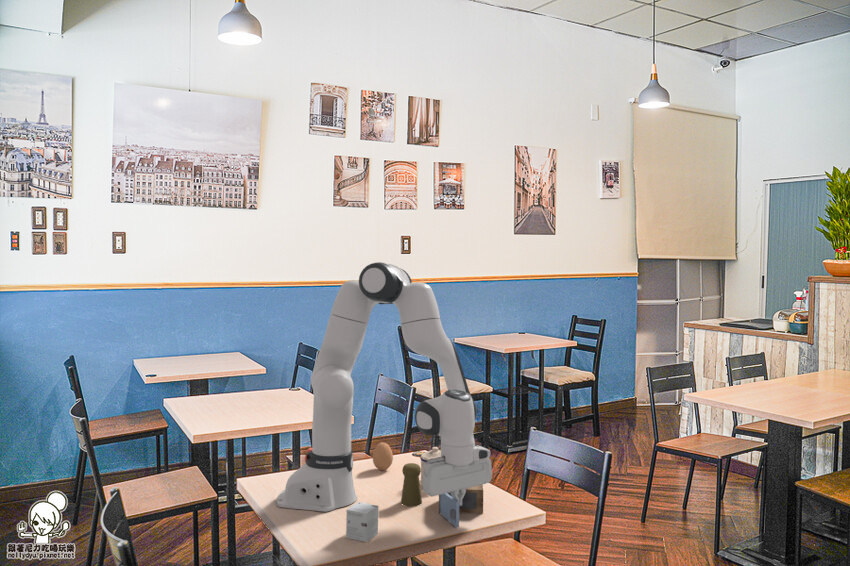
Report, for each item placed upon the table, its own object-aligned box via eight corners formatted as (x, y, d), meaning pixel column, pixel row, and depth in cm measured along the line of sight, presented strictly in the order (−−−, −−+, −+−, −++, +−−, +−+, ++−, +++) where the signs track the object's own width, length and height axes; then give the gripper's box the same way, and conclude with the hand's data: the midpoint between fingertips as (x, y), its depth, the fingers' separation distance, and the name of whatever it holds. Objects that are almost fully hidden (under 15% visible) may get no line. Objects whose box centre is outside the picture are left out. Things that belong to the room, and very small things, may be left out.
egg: (397, 470, 216) (397, 442, 216) (381, 474, 212) (381, 446, 211) (384, 465, 221) (384, 438, 221) (368, 469, 216) (368, 442, 216)
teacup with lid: (453, 489, 199) (453, 450, 198) (423, 491, 197) (424, 452, 196) (443, 476, 210) (443, 440, 210) (415, 478, 208) (415, 441, 208)
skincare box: (345, 538, 164) (345, 509, 163) (358, 529, 169) (358, 501, 169) (367, 542, 161) (367, 513, 161) (378, 533, 167) (378, 504, 167)
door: (435, 512, 180) (435, 489, 179) (442, 511, 180) (442, 488, 180) (452, 527, 170) (453, 503, 169) (459, 526, 170) (459, 502, 170)
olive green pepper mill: (419, 507, 184) (419, 468, 184) (398, 505, 185) (398, 466, 185) (423, 499, 190) (424, 461, 190) (403, 497, 191) (403, 460, 191)
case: (439, 512, 180) (439, 486, 180) (439, 500, 190) (439, 475, 189) (483, 513, 180) (483, 487, 180) (481, 501, 189) (481, 475, 189)
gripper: (431, 463, 164) (431, 518, 165) (495, 450, 175) (495, 501, 176) (417, 457, 169) (417, 510, 170) (480, 444, 180) (480, 494, 181)
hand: (457, 505), depth 173 cm, fingers closed
